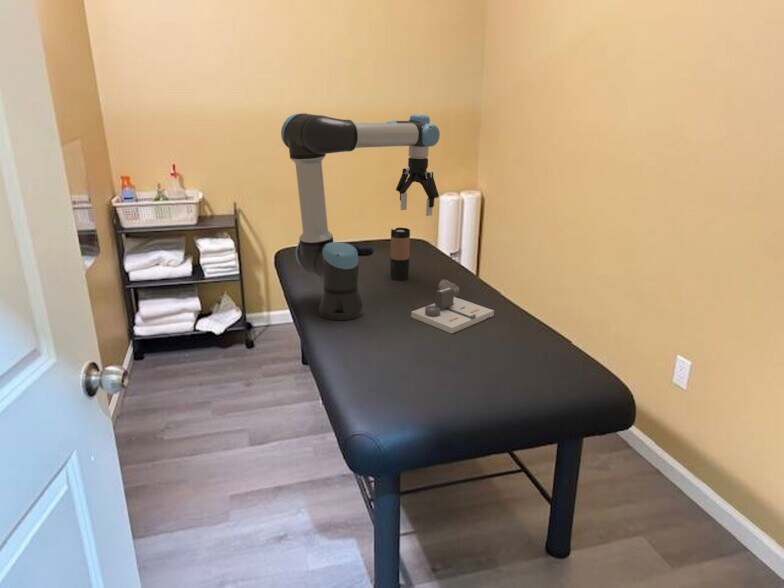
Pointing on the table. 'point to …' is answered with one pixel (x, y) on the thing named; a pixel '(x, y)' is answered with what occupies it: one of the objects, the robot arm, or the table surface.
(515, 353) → the table surface
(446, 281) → the stone
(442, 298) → the fader
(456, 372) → the table surface
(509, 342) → the table surface
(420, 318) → the console
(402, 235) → the travel mug
